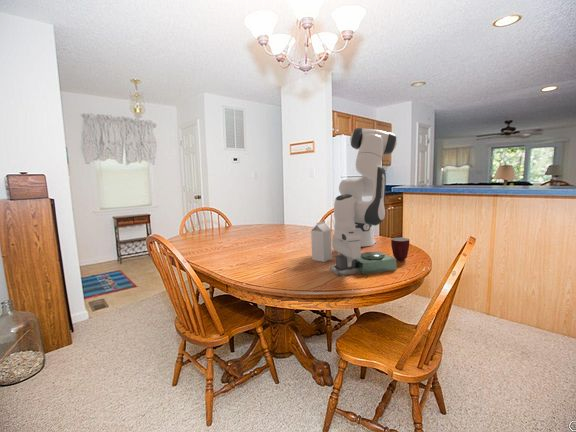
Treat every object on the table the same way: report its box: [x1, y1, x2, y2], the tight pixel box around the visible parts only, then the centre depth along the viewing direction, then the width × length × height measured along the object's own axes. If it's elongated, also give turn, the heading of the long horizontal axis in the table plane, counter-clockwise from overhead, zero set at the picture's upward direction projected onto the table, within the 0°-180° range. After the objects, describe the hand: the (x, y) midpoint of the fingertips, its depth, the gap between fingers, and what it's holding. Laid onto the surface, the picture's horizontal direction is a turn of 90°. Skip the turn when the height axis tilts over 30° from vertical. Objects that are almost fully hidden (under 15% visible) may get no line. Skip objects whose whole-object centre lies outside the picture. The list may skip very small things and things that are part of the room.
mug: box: [390, 237, 410, 262], centre depth 142 cm, size 11×8×10 cm
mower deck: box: [329, 250, 397, 277], centre depth 133 cm, size 14×26×6 cm, turn 105°
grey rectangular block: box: [334, 255, 356, 270], centre depth 131 cm, size 5×7×5 cm
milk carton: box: [310, 220, 333, 263], centre depth 150 cm, size 7×7×19 cm
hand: (345, 264), depth 131 cm, fingers closed on grey rectangular block, 5 cm apart
